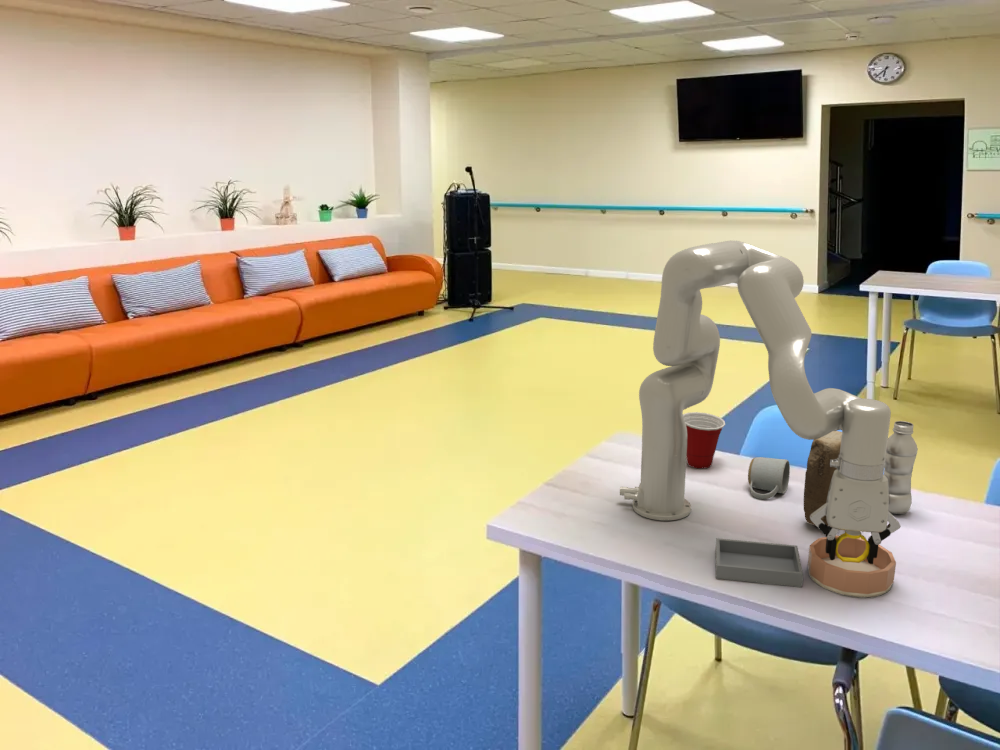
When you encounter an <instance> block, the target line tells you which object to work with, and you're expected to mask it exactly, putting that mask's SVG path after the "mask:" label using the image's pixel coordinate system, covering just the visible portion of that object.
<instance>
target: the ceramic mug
mask: <svg viewBox="0 0 1000 750" xmlns="http://www.w3.org/2000/svg"><path fill="white" fill-rule="evenodd" d="M790 467H791V464H790V461H789V460H788V459H784V458H783V459H781V458H772V457H763V456H761V457H760V456H757V457H753V458H752V459H751V461H750V463H749V466H748V472H747V473H748V474H747V481H748V484H749V489H750V494H751V495H752V496H753V497H754V498H756V499H759V500H768V499H771V498H773V497H774V496H775V495H776V494H785V493H786V491H787V490H788V486H789V481H790V473H791V468H790ZM753 488H754V489H758V490H762V491H763V490H764V491H768V492H767V493H758V492H756V491H755V490H754V489H753Z"/></svg>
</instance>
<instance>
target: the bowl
mask: <svg viewBox="0 0 1000 750" xmlns="http://www.w3.org/2000/svg"><path fill="white" fill-rule="evenodd" d="M839 536H840V535H837V534H836V536H835V538H836V539H837V538H838V537H839ZM826 539H827V537H826V536H824V537H818V538H817V539H816V540H814V541H813V542H812V543H810V544H809V548H808V559H807V567H808V569H807V571H808V575H809V577H810V579H811V580H812V581H813V582H814V583H815V584H817V585H818V586H819V587H822V588H823V589H825V590H827V591H830V592H832V593H835V594H838V595H842V596H846V597H852V598H853V597H854V598H873V597H874V598H875V597H879V596H882V595H884V594H887V593H888V592H889V591H890V590H891V588H892V585H893V584H894V583H895V573H896V565H897V562H896V559H895V557H894V555H893V552H892V551H890V550H889V549H888V548H887V549H886V548H885V547H884V546H882V545H881V544H879V545H878V553H877V558H874V560H873V564H869V563H868V560H867V558H866V559H865V560H863V561H861V562H860V563H856V562H842V561H841V560H840V559H839V558H838V557H837V555H836V553H835V560H830V557H829V553H826ZM867 541H868V539H867ZM865 549H866V542H865V540H863V539H861V538H858V539H852V538H849V537H847V538H845V539H843V540H842V541H841V542H840V543H839V545H838V550H837V551H838V554H839V555H841V556H842V557H846V558H858V557H859V556H861V555H862V554H863V553H864V551H865Z"/></svg>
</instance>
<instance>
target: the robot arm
mask: <svg viewBox="0 0 1000 750" xmlns="http://www.w3.org/2000/svg"><path fill="white" fill-rule="evenodd" d="M804 282H805V281H804V276H803V272H802V271H801V269H800V268H799V266H798V265H797V264H796V263H795V262H793V261H792V260H790V259H788V258H786V257H784V256H782V255H779V254H776V253H773V252H771V251H768V250H766V249H763V248H760V247H758V246H755V245H752V244H750V243H747V242H744V241H740V240H724V241H719V242H712V243H707V244H706V243H705V244H701V245H695V246H691V247H688V248H685V249H682V250H680V251H677V252H676V253H675V254H673V255H671V257H670V258H669V259H668V261H667V262H666V263H665V265H664V268H663V271H662V277H661V289H660V299H659V305H658V310H657V315H656V316H657V317H656V323H655V329H654V336H653V341H652V342H653V343H652V345H653V346H652V349H653V350H652V351H653V355H654V358H655V359H656V361H657V362H658V363H659V364H661V365H664V366H666V367H665V368H661V369H660V370H656V371H654V372H652V373H650V374H648V375H647V376H646V377H645V378H644V379H643V381H642V382H641V384H640V386H639V391H638V397H639V398H638V400H639V406H640V412H641V423H642V426H641V429H642V430H641V432H642V433H641V458H640V459H641V460H640V462H641V463H640V464H641V465H640V482H639V485H638V486H634V487H629V486H628V487H627V486H620V487H619V496H623V500H632V509H633V510H634V512H635V513H636V514H637V515H639V516H641V517H643V518H646V519H650V520H655V521H676V520H681V519H684V518H685V517H688V516H689V515H690V514H691V512H692V511H691V510H692V506H691V505H692V504H691V503H690V502H689V500H688V499H686V498H685V495H686V493H685V491H686V489H685V488H686V473H687V472H686V471H687V470H686V469H687V427H686V424H685V421H684V418H683V414H684V413H683V412H684V410H686V409H688V408H691V407H694V406H697V405H698V404H700V403H702V402H703V401H705V400H706V399H707V398H708V397H709V395H710V393H711V391H712V388H713V385H714V379H715V374H716V369H717V368H716V367H717V363H718V359H719V352H720V345H721V336H720V332H719V329H718V326H717V325H716V323H715V321H713V319H712V318H710V317H709V316H708V315H705V314H701V313H702V310H703V298H702V297H703V296H702V292H701V290H703V289H711V288H715V287H722V286H726V285H729V284H737V285H736V286H737V290H738V291H737V292H738V294H739V296H740V298H741V301H742V303H743V305H744V306H745V309H746V310H747V313H748V314H749V317H750V319H751V321H752V322H753V325H754V326H755V328H756V330H757V333H758V334H759V336H760V338H761V341H762V342H763V344H764V346H765V349H766V351H767V355H768V359H767V368H768V377H769V378H768V379H769V387H770V391H771V394H772V397H773V400H774V402H775V403H776V406H777V408H778V411H779V412H780V414H781V416H782V418H783V420H784V421H785V423H786V424H787V426H788V427H789V429H790V431H792V432H793V434H795V435H796V436H798V437H799V438H801V439H804V440H810V441H811V440H812V441H813V440H814V439H818V438H821V437H823V436H825V435H827V434H829V433H830V432H832V431H841V432H842V438H841V448H840V455H839V458H837V459H835V460H832V459H831V460H830V467H835V468H837V470H835V471H834V473H833V476H832V479H831V483H830V487H829V491H828V496H827V501H826V504H824V505H823V506H822V507H820V508H819V509H817V510H816V511H815V512H813V513H812V514H811V515H810V519H811V521H812V522H813V523H814V524H815V525H816V527H817V528H818V529H819V531H820V532H821V533H822V534H823V535H824V537H827V539H826V553H829V557H830V560H835V552H836V543H837V542H836V538H835V536H836V535H837V534H838V532H839V531H841V530H842V531H843V530H844V531H846V530H851V531H860V532H861V533H863V532H865V533H870V534H871V535H870V536H868V538H867V540H868V543H869V546H870V547H869V554H868V556H867V560H868V563H869V564H873V560H874V558H877V553H878V545H881V544H882V541H884V540H885V539H887V538H889V537H890V536H891V535H892V534H893V533H895V532H896V531H898V530H900V529H901V523H900V521H898V520H897V518H896V517H895V516H894V515H893V513H890V512H889V511H888V505H889V488H888V479H887V478H886V476H885V475H884V465H885V457H886V449H887V441H888V438H889V432H890V424H891V418H892V417H891V413H892V412H891V408H890V406H889V405H887V403H885V402H883V401H880V400H876V399H873V398H862V397H859V396H857V395H854V394H852V393H850V392H848V391H845V390H842V389H839V388H832V387H828V388H823V389H822V390H819V391H817V392H813V389H812V387H811V385H810V383H809V380H808V378H807V375H806V371H805V356H806V353H807V350H808V347H809V344H810V342H811V339H812V329H811V327H810V325H809V323H808V322H807V320H806V317H805V316H804V314H803V312H802V310H801V309H800V305H799V304H798V303H797V300H796V298H797V297H798V296H800V294H801V292H802V291H803V287H804ZM667 366H668V367H667ZM825 515H826V517H827V523H828V526H827V525H826V524H825V523H824V522H823V521H822V520H821V518H822V517H823V516H825ZM815 525H814V526H815Z"/></svg>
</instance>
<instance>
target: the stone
mask: <svg viewBox="0 0 1000 750" xmlns="http://www.w3.org/2000/svg"><path fill="white" fill-rule="evenodd" d="M841 438H842V431H841V430H837V431H832V432H830V433H829V434H827V435H825V436H823V437H821V438H818V439H814V440H812V443H811V445H810V450H809V454H808V457H807V462H806V471H805V475H804V476H805V477H804V489H803V512H804V518H805V519H804V520H805V521H806V523H808V524H811V525H813V526H816V525H815V524H814V523H813V522H812V521H811V519H810V515H811V514H812V513H813V512H815V511H816V510H817V509H819V508H820V507H822V506H823V505H824V504H826V501H827V496H828V491H829V487H830V483H831V479H832V476H833V473H834V471H835V470H837V468H835V467H830V460H831V459H832V460H835V459H837V458H839V455H840V448H841ZM821 520H822V521H823V522H824V523H825V524H826V525H827V526H828V523H827V517H826V515H825V516H823V517H822V518H821ZM816 527H817V526H816Z"/></svg>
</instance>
